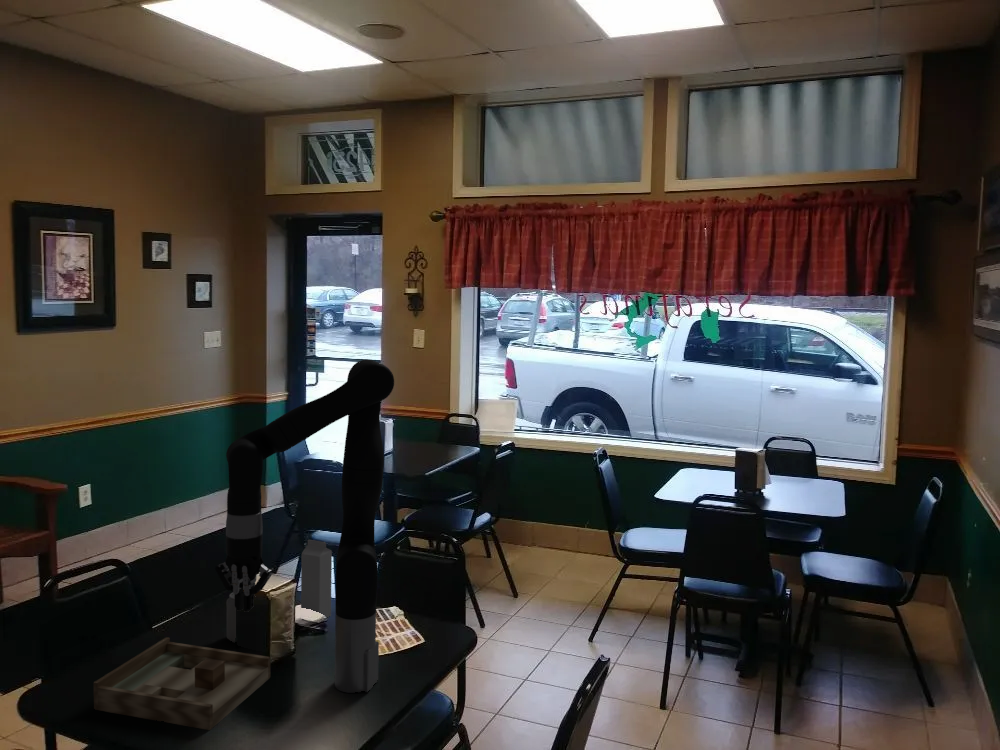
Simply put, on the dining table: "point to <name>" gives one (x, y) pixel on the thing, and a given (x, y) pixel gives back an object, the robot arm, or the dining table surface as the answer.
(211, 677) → the block
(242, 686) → the compartment tray
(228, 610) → the can
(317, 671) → the dining table surface
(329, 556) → the milk
